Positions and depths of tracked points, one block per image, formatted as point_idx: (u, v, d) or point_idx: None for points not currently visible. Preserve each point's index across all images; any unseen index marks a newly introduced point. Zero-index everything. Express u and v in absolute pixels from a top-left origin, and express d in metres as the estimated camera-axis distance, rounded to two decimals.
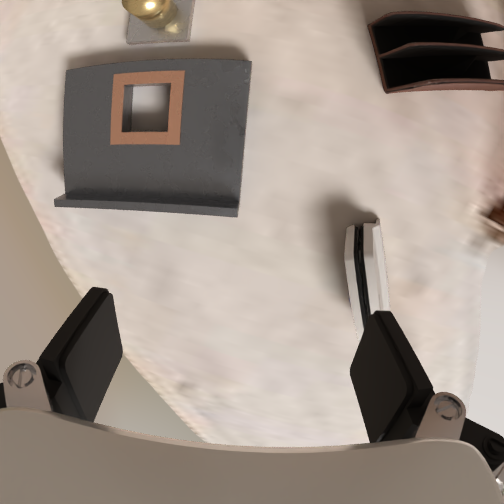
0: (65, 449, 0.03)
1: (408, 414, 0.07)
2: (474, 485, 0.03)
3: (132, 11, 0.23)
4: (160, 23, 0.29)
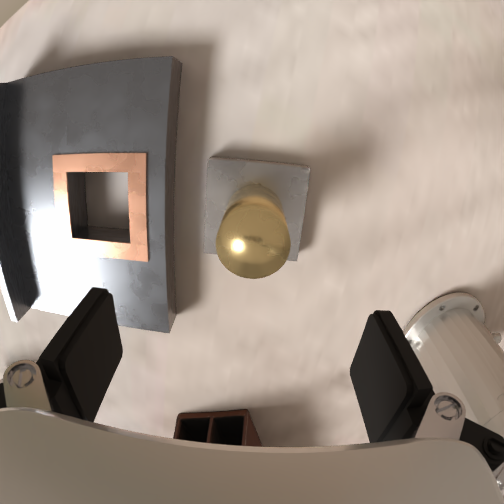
0: (65, 449, 0.03)
1: (408, 414, 0.07)
2: (474, 485, 0.03)
3: (220, 231, 0.19)
4: None
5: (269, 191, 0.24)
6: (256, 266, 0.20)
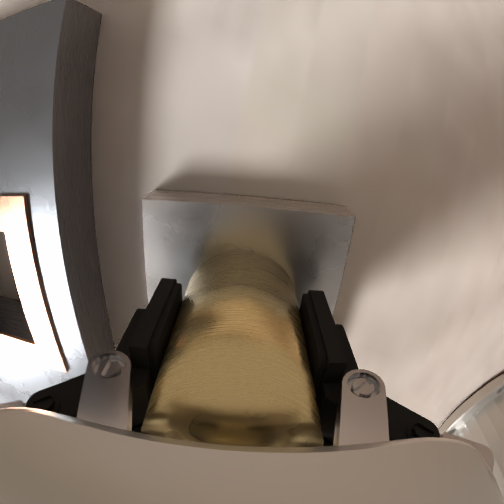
0: (65, 449, 0.03)
1: (323, 388, 0.08)
2: (474, 485, 0.03)
3: (147, 426, 0.06)
4: None
5: (270, 271, 0.11)
6: None
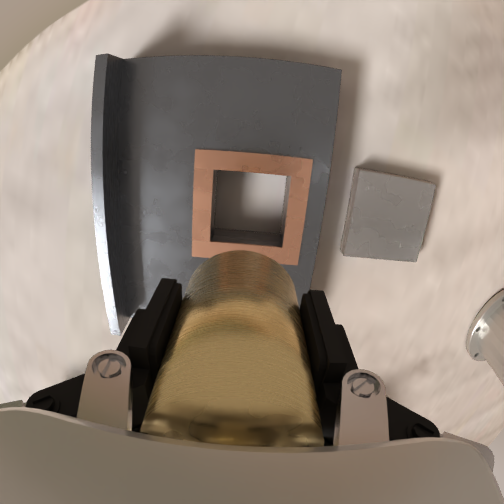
0: (65, 449, 0.03)
1: (323, 388, 0.08)
2: (474, 485, 0.03)
3: (146, 426, 0.06)
4: None
5: (271, 270, 0.11)
6: None
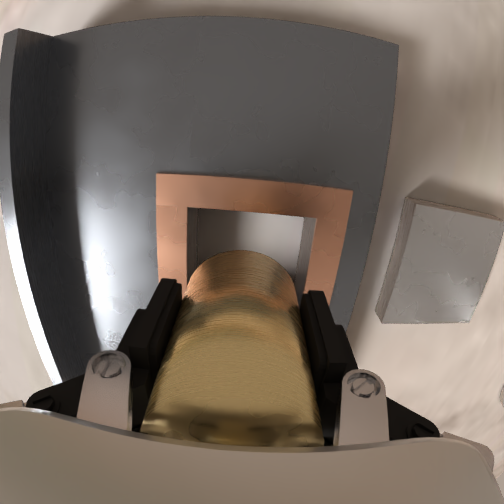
0: (65, 449, 0.03)
1: (323, 388, 0.08)
2: (474, 485, 0.03)
3: (146, 426, 0.06)
4: None
5: (271, 270, 0.11)
6: None
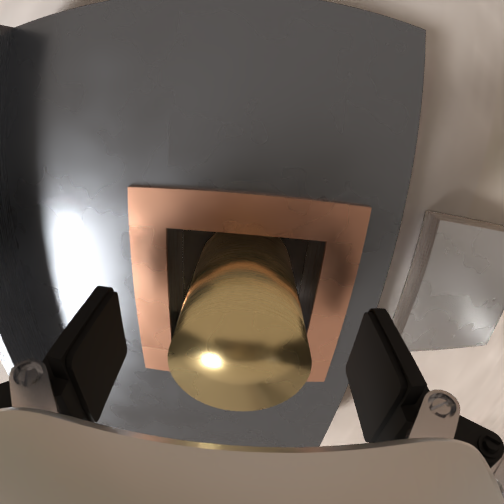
0: (65, 449, 0.03)
1: (402, 411, 0.07)
2: (474, 485, 0.03)
3: (174, 346, 0.09)
4: None
5: (269, 238, 0.14)
6: (246, 397, 0.10)
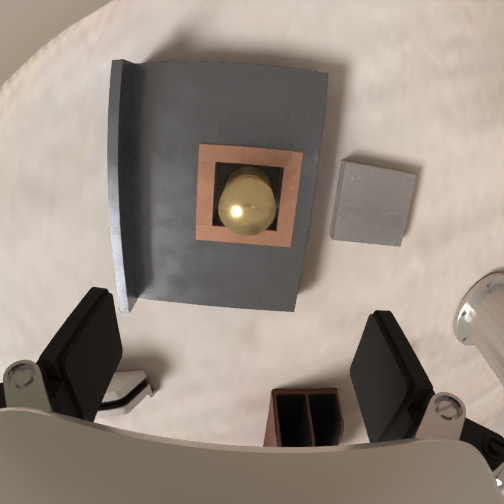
0: (65, 449, 0.03)
1: (408, 414, 0.07)
2: (474, 485, 0.03)
3: (222, 198, 0.24)
4: None
5: (260, 171, 0.29)
6: (249, 225, 0.25)
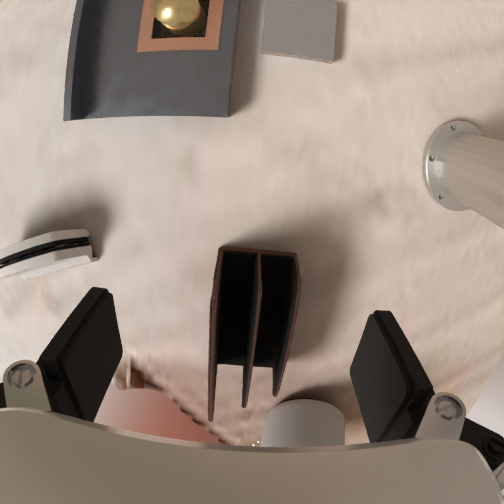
0: (65, 449, 0.03)
1: (408, 414, 0.07)
2: (474, 485, 0.03)
3: None
4: None
5: None
6: (174, 14, 0.23)
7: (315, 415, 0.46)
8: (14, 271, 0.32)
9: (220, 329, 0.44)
